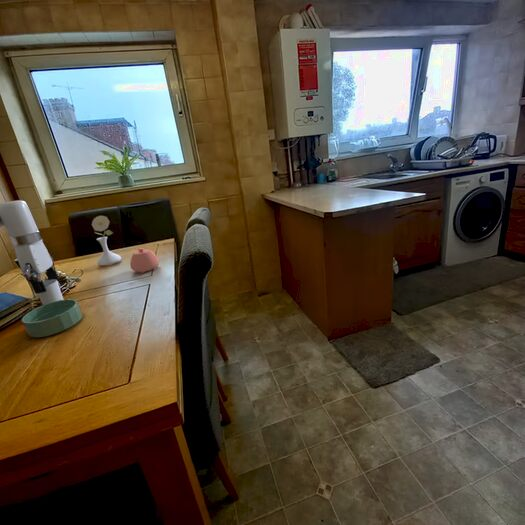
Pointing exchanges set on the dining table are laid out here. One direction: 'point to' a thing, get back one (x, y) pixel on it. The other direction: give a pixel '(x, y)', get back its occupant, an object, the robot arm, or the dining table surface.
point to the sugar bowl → (143, 260)
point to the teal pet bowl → (52, 318)
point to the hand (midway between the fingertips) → (48, 286)
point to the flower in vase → (104, 242)
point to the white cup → (50, 292)
